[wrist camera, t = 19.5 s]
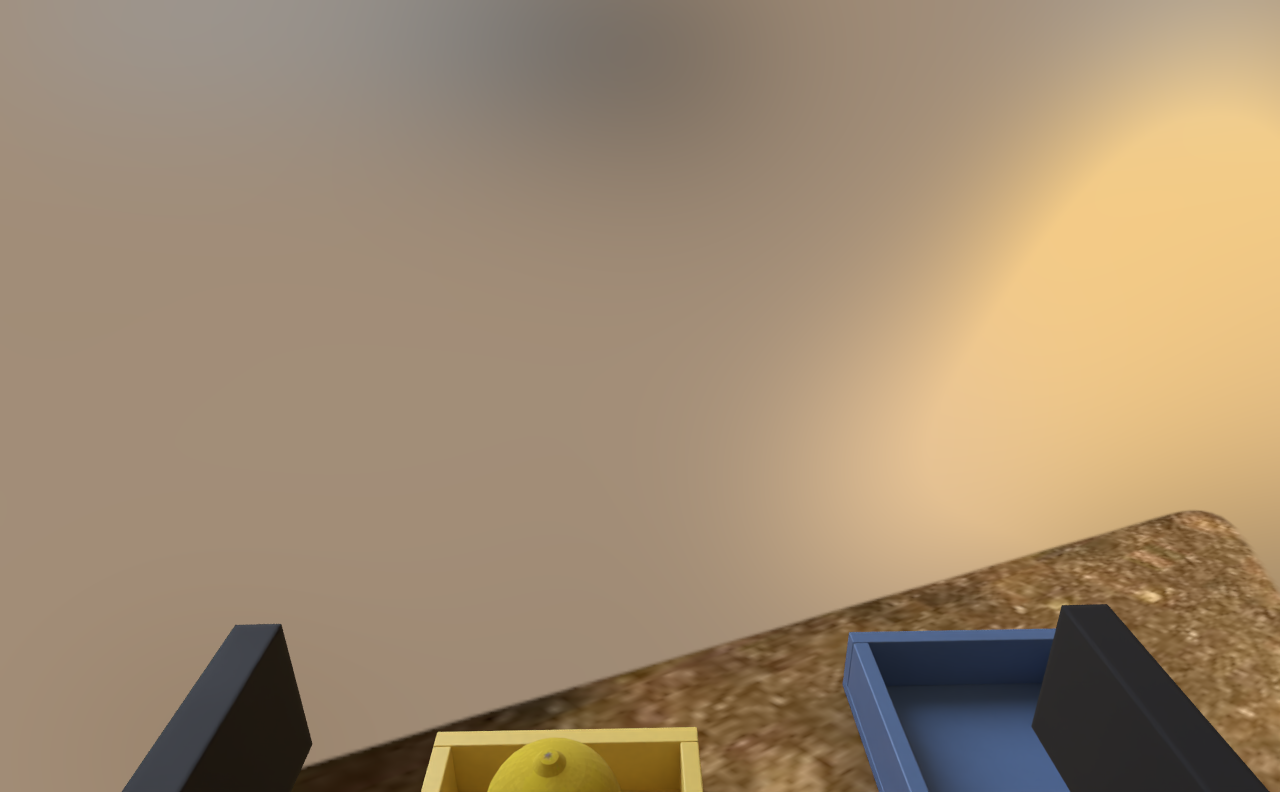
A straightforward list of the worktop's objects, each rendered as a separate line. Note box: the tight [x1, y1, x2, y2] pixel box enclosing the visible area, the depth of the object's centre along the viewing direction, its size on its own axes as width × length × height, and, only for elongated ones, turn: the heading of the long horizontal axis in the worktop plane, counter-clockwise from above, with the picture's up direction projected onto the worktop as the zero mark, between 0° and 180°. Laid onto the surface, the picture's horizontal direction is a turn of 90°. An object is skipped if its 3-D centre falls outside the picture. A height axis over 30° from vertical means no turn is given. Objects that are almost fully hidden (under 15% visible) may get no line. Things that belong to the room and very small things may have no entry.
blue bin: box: [843, 629, 1070, 792], centre depth 36 cm, size 12×12×4 cm
